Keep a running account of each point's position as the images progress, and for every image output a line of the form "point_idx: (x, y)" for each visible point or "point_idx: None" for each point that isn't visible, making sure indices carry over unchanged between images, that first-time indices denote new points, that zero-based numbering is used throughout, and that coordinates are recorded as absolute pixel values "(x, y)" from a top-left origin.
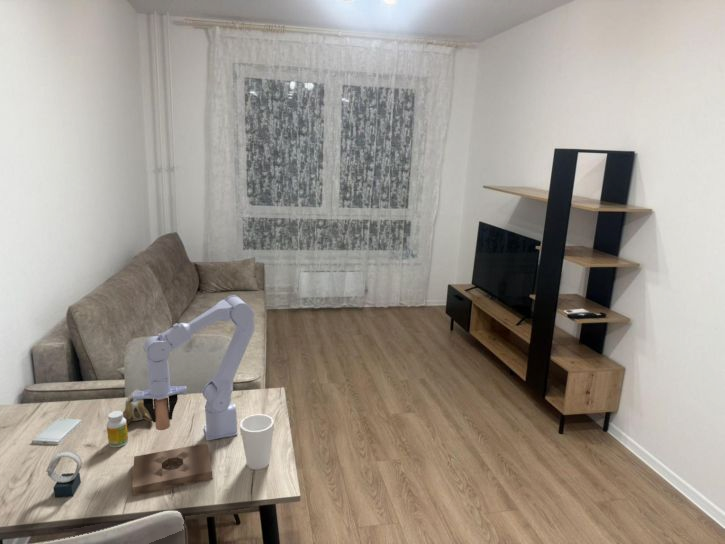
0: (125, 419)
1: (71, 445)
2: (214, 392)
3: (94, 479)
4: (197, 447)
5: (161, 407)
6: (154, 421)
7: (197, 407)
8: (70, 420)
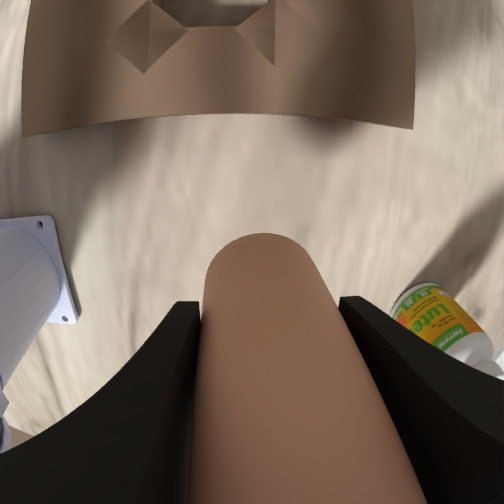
0: None
1: (500, 320)
2: None
3: (499, 106)
4: (65, 100)
5: (315, 436)
6: (349, 300)
7: None
8: None
